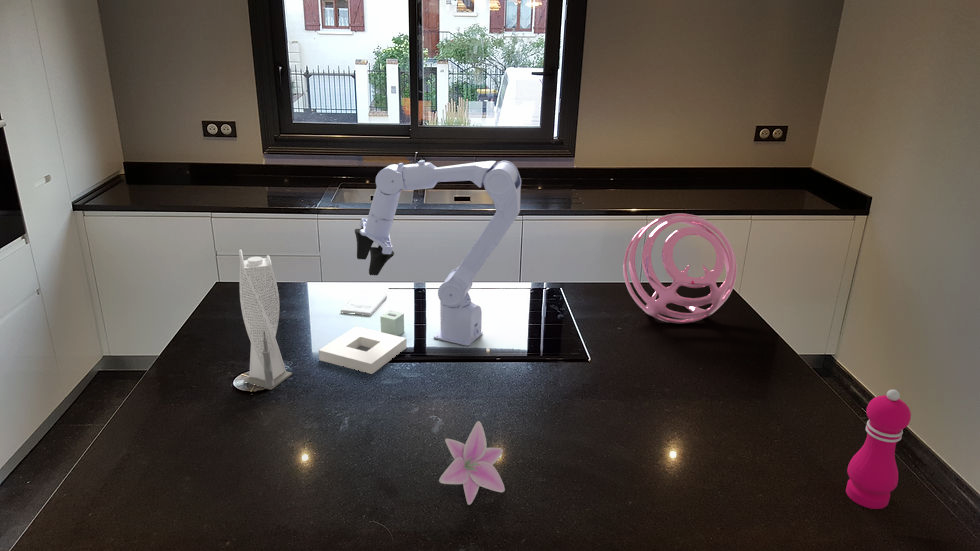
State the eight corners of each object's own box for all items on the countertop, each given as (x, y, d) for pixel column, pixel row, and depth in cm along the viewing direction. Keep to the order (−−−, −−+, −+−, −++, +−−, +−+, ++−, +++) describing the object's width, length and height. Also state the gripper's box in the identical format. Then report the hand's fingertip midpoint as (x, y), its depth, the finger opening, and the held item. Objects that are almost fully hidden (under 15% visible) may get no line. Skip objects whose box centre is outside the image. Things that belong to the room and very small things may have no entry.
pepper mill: (833, 483, 116) (858, 379, 109) (874, 481, 117) (901, 377, 109) (858, 512, 109) (886, 403, 102) (901, 510, 110) (932, 401, 103)
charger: (404, 332, 168) (403, 312, 166) (395, 338, 164) (394, 319, 162) (390, 329, 169) (389, 309, 167) (381, 335, 166) (380, 315, 164)
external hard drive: (387, 300, 187) (370, 318, 176) (358, 297, 189) (340, 315, 178) (386, 294, 187) (370, 312, 175) (358, 291, 188) (340, 309, 177)
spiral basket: (627, 219, 193) (652, 184, 167) (723, 248, 192) (765, 218, 166) (601, 313, 187) (624, 293, 160) (701, 343, 186) (741, 328, 159)
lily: (426, 511, 109) (448, 480, 103) (424, 446, 118) (444, 415, 112) (495, 518, 113) (520, 489, 107) (488, 456, 122) (511, 425, 116)
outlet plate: (406, 347, 160) (406, 338, 159) (371, 374, 148) (371, 363, 147) (356, 335, 165) (356, 326, 164) (319, 360, 153) (318, 350, 152)
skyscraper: (238, 381, 144) (222, 254, 134) (263, 364, 151) (250, 243, 141) (271, 389, 141) (257, 261, 131) (295, 372, 148) (284, 248, 138)
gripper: (354, 200, 162) (340, 251, 167) (378, 228, 151) (363, 281, 157) (381, 202, 166) (367, 252, 171) (406, 230, 156) (390, 282, 161)
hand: (367, 266), depth 164 cm, fingers open, 7 cm apart
